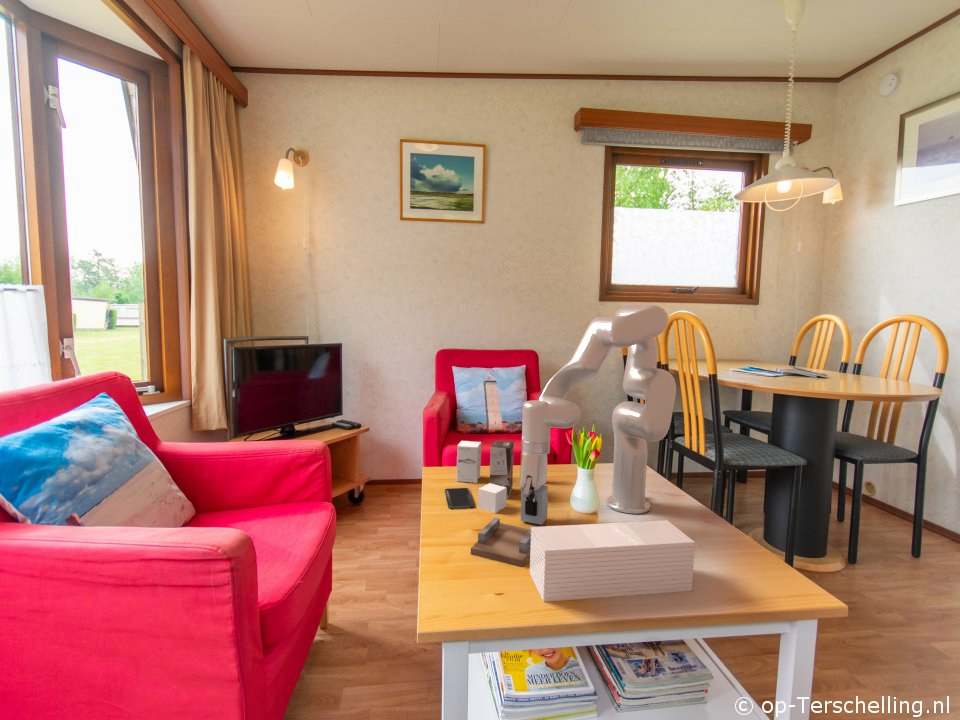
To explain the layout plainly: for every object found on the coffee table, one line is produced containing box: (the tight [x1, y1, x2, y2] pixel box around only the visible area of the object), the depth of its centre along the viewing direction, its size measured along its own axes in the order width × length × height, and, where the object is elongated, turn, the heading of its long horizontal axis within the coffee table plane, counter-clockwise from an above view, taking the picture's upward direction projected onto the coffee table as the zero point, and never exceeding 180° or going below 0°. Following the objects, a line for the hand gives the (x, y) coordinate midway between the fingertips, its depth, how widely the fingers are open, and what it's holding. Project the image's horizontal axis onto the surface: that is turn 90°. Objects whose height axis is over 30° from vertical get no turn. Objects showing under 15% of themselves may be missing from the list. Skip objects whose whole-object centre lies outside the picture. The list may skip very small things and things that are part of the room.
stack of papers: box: [529, 519, 696, 602], centre depth 102 cm, size 32×11×11 cm, turn 99°
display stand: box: [470, 517, 538, 568], centre depth 117 cm, size 16×13×4 cm
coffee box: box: [489, 440, 514, 500], centre depth 152 cm, size 9×6×16 cm
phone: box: [444, 487, 476, 510], centre depth 147 cm, size 8×1×15 cm
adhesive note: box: [477, 482, 507, 514], centre depth 141 cm, size 6×6×6 cm
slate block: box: [520, 485, 549, 526], centre depth 131 cm, size 5×6×9 cm
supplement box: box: [456, 440, 482, 484], centre depth 165 cm, size 7×7×13 cm
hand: (534, 510), depth 131 cm, fingers closed on slate block, 4 cm apart
